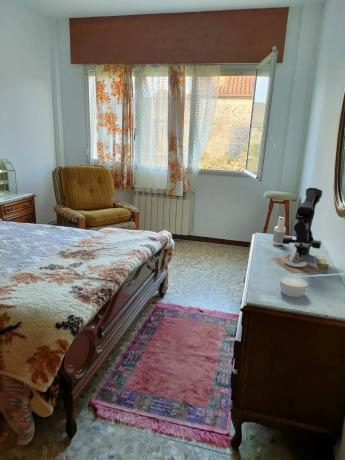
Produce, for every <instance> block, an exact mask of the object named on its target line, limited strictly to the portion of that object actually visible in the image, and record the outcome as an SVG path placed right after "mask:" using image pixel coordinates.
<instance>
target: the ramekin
mask: <svg viewBox="0 0 345 460" xmlns="http://www.w3.org/2000/svg"><path fill="white" fill-rule="evenodd" d="M279 284H280V291H281V293H283V294H284V295H285V296H287V295H288V297H290V298H301V297H303V296H305V293H306V292H307V288H308V287H309V283H308V282H307V281H306V280H305V279H302V278H299V277H295V276H282V277H281V278H280V279H279Z"/></svg>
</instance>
